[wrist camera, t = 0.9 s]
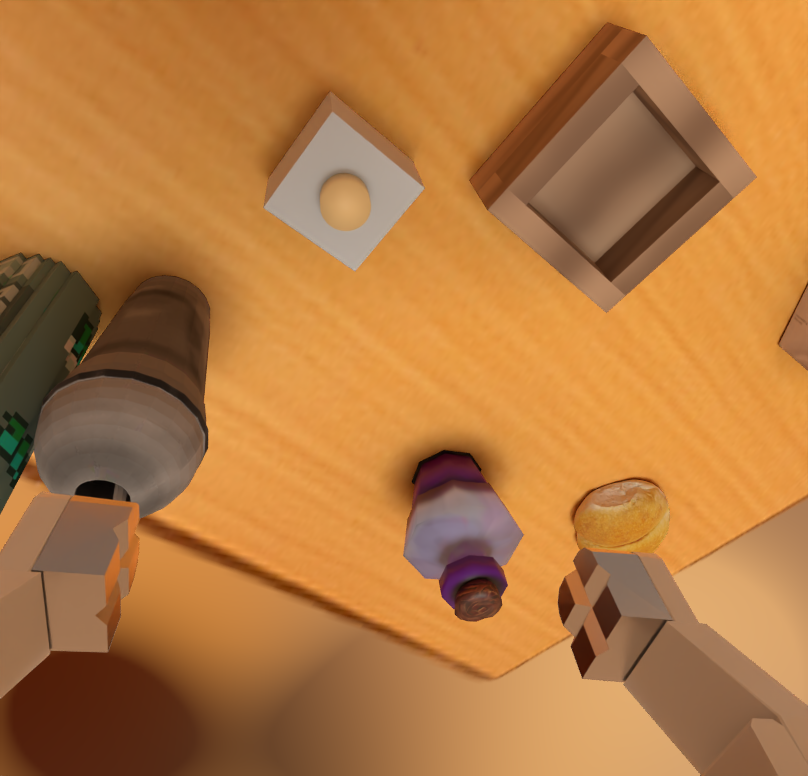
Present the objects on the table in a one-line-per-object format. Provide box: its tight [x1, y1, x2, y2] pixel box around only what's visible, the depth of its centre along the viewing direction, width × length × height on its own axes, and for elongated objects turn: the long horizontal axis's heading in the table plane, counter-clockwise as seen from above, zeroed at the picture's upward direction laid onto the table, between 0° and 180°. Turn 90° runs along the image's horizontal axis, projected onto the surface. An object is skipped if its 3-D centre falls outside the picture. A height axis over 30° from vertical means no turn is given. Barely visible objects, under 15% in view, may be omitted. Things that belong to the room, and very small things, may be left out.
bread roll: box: [574, 480, 670, 553], centre depth 53 cm, size 8×9×4 cm
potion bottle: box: [403, 450, 523, 621], centre depth 44 cm, size 9×9×12 cm
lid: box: [263, 91, 425, 271], centre depth 31 cm, size 6×6×6 cm
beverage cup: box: [34, 275, 210, 519], centre depth 29 cm, size 7×7×20 cm
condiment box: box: [469, 23, 757, 313], centre depth 33 cm, size 10×10×4 cm
